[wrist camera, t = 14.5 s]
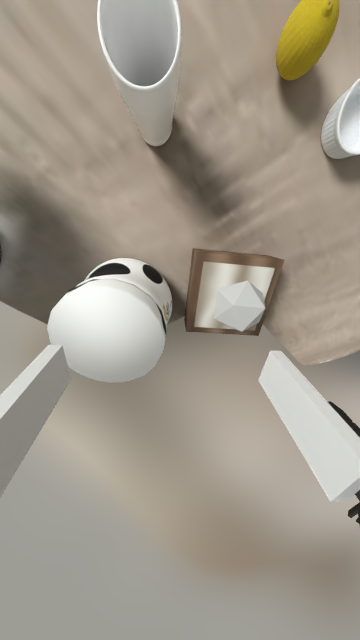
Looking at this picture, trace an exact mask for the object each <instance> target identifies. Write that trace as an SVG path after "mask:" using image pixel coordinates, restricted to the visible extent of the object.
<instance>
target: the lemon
mask: <svg viewBox="0 0 360 640" xmlns="http://www.w3.org/2000/svg"><path fill="white" fill-rule="evenodd" d="M338 15H339V0H301V1H300V3H299V4H298V5H297V7H296V8H295V9H294V11H293V12H292V14H291V15H290V17H289V19H288V20H287V23H286V25H285V27H284V29H283V31H282V34H281V37H280V40H279V43H278V47H277V54H276V65H277V70H278V72H279V74H280V76H281V77H282V78H284V79H286V80H294V79H298V78H299V77H301V76H303V75H304V74H305V73H307V72H308V71H309V70H310V69H311V68H312V67H313V66H314V65H315V64H316V62H317V61H318V60H319V58H320V57H321V55H322V54H323V52H324V51H325V49H326V47H327V46H328V44H329V42H330V39H331V37H332V35H333V33H334V30H335V27H336V24H337V21H338Z"/></svg>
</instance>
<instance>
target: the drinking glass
mask: <svg viewBox="0 0 360 640" xmlns="http://www.w3.org/2000/svg"><path fill="white" fill-rule="evenodd" d="M97 18H98V30H99V37H100V41H101V45H102V49H103V51H104V54H105V58H106V61H107V64H108V67H109V69H110V72H111V75H112V78H113V80H114V82H115V85H116V87H117V89H118V92H119V94H120V96H121V98H122V100H123V102H124V103H125V105H126V107H127V109H128V111H129V113H130V114H131V116H132V118H133V120H134V122H135V124H136V126H137V128H138V130H139V133H140V135H141V137H142V138H143V139H144V141H145V142H147V143H148V144H149V145H152V146H161V145H163V144H164V143H165V142H166V141H167V140H168V139H169V137H170V135H171V132H172V126H173V116H174V110H175V104H176V99H177V93H178V87H179V80H180V71H181V35H182V33H181V18H180V12H179V7H178V3H177V0H98V12H97Z"/></svg>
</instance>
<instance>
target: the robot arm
mask: <svg viewBox="0 0 360 640" xmlns="http://www.w3.org/2000/svg"><path fill="white" fill-rule="evenodd" d="M0 261H1V247H0ZM70 380H71V376H70V372H69V368H68V364H67V361H66V357H65V353H64V349H63V346H62V345H48V346H47V347H46V348H45V349H44V350H43V351H42V352H41V353H40V354H39V355H38V356H37V357H36V359H34V361H33V362H32V363H31V364H30V365H29V366H28V367H27V368H26V369H25V370H24V371H23V372H22V373H21V374H20V375H19V376H18V377H17V378H16V379H15V380H14V382H12V384H11V385H10V386H9V387H8V388H7V389H6V390H5V391H4V392H3V393H2V394H1V395H0V497H1V495H2V494H3V492H4V490H5V489H6V487H7V485H8V484H9V482H10V480H11V479H12V477H13V475H14V474H15V472H16V470H17V469H18V467H19V465H20V464H21V462H22V460H23V459H24V457H25V455H26V454H27V452H28V450H29V449H30V447H31V445H32V444H33V442H34V440H35V439H36V437H37V435H38V434H39V432H40V430H41V429H42V427H43V425H44V424H45V422H46V420H47V419H48V417H49V415H50V414H51V412H52V410H53V409H54V407H55V405H56V404H57V402H58V400H59V399H60V397H61V395H62V394H63V392H64V390H65V388H66V387H67V385H68V384H69V382H70ZM258 381H259V382H260V384H261V386H262V387H263V389H264V391H265V392H266V394H267V396H268V397H269V399H270V400H271V402H272V404H273V406H274V407H275V409H276V411H277V413H278V414H279V416H280V418H281V419H282V421H283V422H284V424H285V426H286V428H287V429H288V431H289V433H290V434H291V436H292V438H293V440H294V441H295V443H296V444H297V446H298V448H299V450H300V451H301V453H302V455H303V456H304V458H305V460H306V461H307V463H308V465H309V466H310V468H311V470H312V471H313V473H314V475H315V477H316V478H317V480H318V482H319V483H320V485H321V486H322V488H323V490H324V491H325V493H326V495H327V497H328V498H329V500H330V502H335V501H347V500H348V499H350V498H351V497H352V496H354V495H356V496H357V498H358V499H359V501H360V428H359V427H358V426H357V425H356V424H355V423H353V422H352V420H351V419H350V418H349V417H348V416H347V415H346V413H344V411H343V410H341V409H340V408H339V407H337V406H336V405H335V404H333V403H332V402H327V401H326V400H325V399H324V398H323V397H322V396H321V394H320V393H319V392H318V391H317V390H316V389H315V388H314V387H313V386H312V385H311V383H310V382H309V381H308V380H307V379H306V378H305V377H304V376H303V375H302V374H301V372H300V371H299V370H298V369H297V368H296V367H295V366H294V365H293V364H292V363H291V361H290V360H289V359H288V358H287V357H286V356H285V355H284V354H283V353H282V351H270V353H269V355H268V358H267V360H266V363H265V365H264V368H263V370H262V372H261V375H260V377H259V380H258ZM356 514H358V516H359V518H357V520H356V522H358V523H359V524H360V502H359V503H358V504H357V505H355V506H354V507H353V508H351V509H350V510H349V511H348V516H349V517H350V518H352V517H353V516H355V515H356Z"/></svg>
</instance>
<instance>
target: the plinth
mask: <svg viewBox="0 0 360 640" xmlns="http://www.w3.org/2000/svg"><path fill="white" fill-rule="evenodd" d="M283 263H284V260H282V259H279V258H275V257H272V256H267V255H257V254H246V253H236V252H226V251H215V250H205V249H195V248H193V251H192V260H191V268H190V277H189V285H188V294H187V302H186V311H185V327H186V331H188V332H205V333H223V334H240V335H257V336H258V335H259V332H260V329H261V326H262V324H263V321H264V318H265V315H266V312H267V309H268V306H269V303H270V300H271V297H272V295H273V292H274V289H275V286H276V283H277V280H278V277H279V274H280V271H281V268H282V265H283ZM244 281H249V282H250V283H251V284H253V285H254V286H255V287H256V288H257V289H258V290H260V291H261V292H262V293H263V297H264V303H265V310H264V312H263V315H262V317H261V319H260V321H259V323H257V324H255V325H253V326H251V327H250V328H248V329H246V330H244V331H242V332H241V331H239V330H236V329H234V328H232V327H230V326H228V325H226V324H224V323H222V322H220V321H218V320H216V319H214V314H215V304H216V295H217V289H219V288H223V287H226V286H229V285H232V284H236V283H240V282H244Z"/></svg>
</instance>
